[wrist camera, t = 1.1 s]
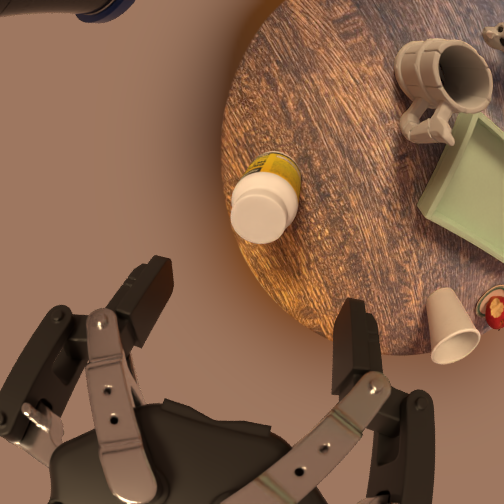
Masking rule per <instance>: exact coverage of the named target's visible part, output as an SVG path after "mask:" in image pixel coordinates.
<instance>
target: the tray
mask: <svg viewBox="0 0 504 504" xmlns="http://www.w3.org/2000/svg"><path fill="white" fill-rule="evenodd" d="M451 135H452V136H453V138H454V141H455V144H454V146H449V145H448V144H447V143H446V146H445V148H444V150H443V153H442V155H441V157H440V159H439V161H438V163H437V166H436V168H435V170H434V172H433V174H432V176H431V178H430V180H429V182H428V184H427V186H426V188H425V190H424V192H423V194H422V196H421V197H420V199H419V201H418V203H417V207H418V208H419V210H420V211H421V213H422V214H423V216H424V217H425V218H426V219H428V220H430V221H432V222H434V223H436V224H438V225H440V226H442V227H444V228H446V229H447V230H449V231H451V232H453V233H455V234H456V235H458V236H460V237H462V238H463V239H465V240H467V241H469V242H470V243H472V244H474V245H475V246H477V247H479V248H480V249H482V250H484V251H485V252H487V253H488V254H490V255H492V256H493V257H495V258H496V259H498V260H499V261H501V262H502V263H504V132H503V131H502V130H501V129H500V128H498V127H497V126H496V125H495V124H494V123H493V122H492V121H491V120H489V119H488V118H487V117H486V116H485V115H484V114H482V113H481V112H479V113H475V114H472V113H468V114H466V113H459V114H458V116H457V119H456V122H455V124H454V127H453V129H452V133H451Z"/></svg>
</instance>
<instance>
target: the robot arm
mask: <svg viewBox="0 0 504 504" xmlns="http://www.w3.org/2000/svg"><path fill="white" fill-rule="evenodd" d="M115 1H116V0H0V17H5V16H12V15H21V14H36V13H74V14H85V15H95V14H98V13H101V12H103V11H104V10H106V9H107V8H109V7H110V6H111V5H112V4H113V3H114V2H115ZM173 287H174V281H173V271H172V261H171V259H169V258H165V257H161V256H157V255H155V256H153V257H152V259H151V260H150V261H149V263H148V264H141V265H140V266H138V267H137V268H135V269H134V270H133V271H132V273H131V274H130V275H129V276H128V279H126V280H125V282H124V283H123V285H122V286H121V287H120V289H119V290H118V291H117V293H116V294H115V295H114V297H113V298H112V300H111V301H110V302H109V304H108V305H107V306H106V307H105V308H100V309H97V310H95V311H93V312H92V313H91V314H90V315H75V314H72V312H71V310H70V308H69V307H67V306H65V305H58V306H55V307H53V308H52V309H51V310H50V311H49V312H48V313H47V314H46V316H45V317H44V319H43V320H42V322H41V323H40V325H39V326H38V328H37V329H36V331H35V332H34V334H33V335H32V337H31V338H30V340H29V342H28V343H27V345H26V346H25V348H24V350H23V351H22V353H21V354H20V356H19V358H18V360H17V362H16V363H15V365H14V367H13V368H12V370H11V372H10V374H9V375H8V377H7V379H6V381H5V383H4V385H3V387H2V389H1V391H0V436H1V437H3V438H5V439H6V440H7V441H8V442H10V443H12V444H14V445H15V446H17V447H19V448H21V449H23V450H25V451H26V452H27V453H28V454H30V455H31V456H32V457H34V458H35V459H37V460H38V461H39V462H41V463H42V464H44V465H45V466H47V467H48V468H49V471H50V478H51V496H50V500H49V502H48V504H328V503H327V502H326V500H325V499H324V497H323V496H322V494H321V492H320V491H319V489H318V488H317V485H318V484H319V483H320V482H321V481H322V480H323V479H324V478H325V477H326V476H327V475H328V474H329V473H330V472H331V471H332V470H333V469H334V468H335V467H336V466H337V465H338V464H339V463H340V461H341V460H342V459H343V458H344V457H345V456H346V455H347V454H348V453H349V452H350V451H351V449H352V448H353V447H354V446H355V445H356V444H357V442H358V441H359V440H360V438H361V437H362V435H363V434H362V432H363V431H364V429H365V428H367V429H370V430H373V431H374V438H373V449H372V459H371V467H370V476H369V482H368V489H367V494H366V498H365V499H363V500H361V501H359V502H358V503H357V504H432V496H433V485H434V470H435V425H434V424H435V423H434V406H433V401H432V398H431V396H430V395H429V394H428V393H426V392H425V391H423V390H414V391H413V392H411V393H410V394H408V393H405V392H403V391H400V390H398V389H395V388H393V387H392V386H391V384H390V381H389V380H388V378H387V377H386V376H385V375H384V374H383V370H382V359H381V350H380V343H379V335H378V326H377V322H376V320H375V319H374V317H373V315H372V314H370V313H366V311H365V303H364V301H363V300H358V299H353V298H347V299H346V300H345V302H344V304H343V306H342V308H341V310H340V312H339V314H338V316H337V318H336V321H335V324H334V329H333V370H332V395H339V402H338V403H337V404H336V405H335V406H334V407H333V409H332V410H331V411H330V412H329V413H328V414H327V415H326V416H325V417H324V418H323V419H322V420H321V421H320V422H319V423H318V424H317V425H316V426H315V427H313V428H312V429H311V430H310V431H309V432H308V433H307V434H306V435H305V436H304V437H303V438H301V439H300V440H299V441H298V442H297V443H296V444H295V445H294V446H293V447H291V446H290V445H289V444H288V443H287V442H286V441H285V440H284V439H283V438H281V437H280V436H278V435H276V434H274V433H272V432H270V430H271V426H268V425H262V424H257V423H252V422H247V421H216V420H213V419H211V418H209V417H207V416H205V415H204V414H202V413H200V412H198V411H197V410H195V409H193V408H191V407H190V406H186V405H184V404H180V403H177V402H174V401H171V400H168V399H164V402H163V404H160V403H155V404H154V403H153V404H146V403H145V400H144V398H143V395H142V392H141V390H140V387H139V383H138V379H137V375H136V371H135V368H134V363H133V359H132V354H131V350H132V348H133V346H137V347H140V348H142V347H143V345H144V343H145V341H146V340H147V338H148V336H149V334H150V332H151V330H152V328H153V327H154V325H155V323H156V321H157V319H158V318H159V316H160V314H161V312H162V310H163V309H164V307H165V305H166V303H167V301H168V300H169V298H170V296H171V294H172V292H173ZM59 352H60V353H59ZM58 354H59V355H58ZM55 359H56V360H55ZM88 360H89V363H87V362H88ZM54 361H55V362H54ZM84 367H85V371H86V380H87V387H88V393H89V400H90V405H91V411H92V416H93V421H94V426H95V429H93V430H91V431H88V432H86V433H84V434H82V435H80V436H78V437H76V438H73V439H71V440H69V441H66V442H64V443H62V436H63V435H64V430H63V423H62V421H61V419H60V418H61V416H62V413H63V411H64V409H65V407H66V405H67V402H68V400H69V398H70V396H71V394H72V392H73V390H74V388H75V385H76V383H77V381H78V379H79V377H80V375H81V373H82V371H83V369H84Z"/></svg>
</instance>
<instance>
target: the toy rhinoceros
mask: <svg viewBox="0 0 504 504" xmlns="http://www.w3.org/2000/svg"><path fill="white" fill-rule="evenodd" d="M482 35H483V39H484V40H485V42H486V43H487V44H488V45H489V46H490V47H491V48H494V49H499V50H501V51H503V52H504V23H499V24H498V25H497V26H495V27H485V28H484V29H483V32H482Z"/></svg>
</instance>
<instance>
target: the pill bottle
mask: <svg viewBox="0 0 504 504" xmlns="http://www.w3.org/2000/svg"><path fill="white" fill-rule="evenodd" d="M300 187H301V171H300V169H299V166H298V165H297V163H296V162H295V161H294V160H293V159H292V158H291V157H290V156H288V155H286V154H284V153H281V152H276V151H271V152H266V153H263V154H261V155H259V156H258V157H257V158H256V159H255V160H254V161H253V162H252V163H251V164H250V166H249V167H248V169H247V170H246V172H245V173H244V175H243V176H242V177H241V179H240V180H239V182H238V183H237V185H236V187H235V189H234V191H233V194H232V211H231V222H232V225H233V228H234V229H235V231H236V232H237V233H238V234H239V235H240V236H241V237H242V238H243V239H245V240H247V241H249V242H252V243H256V244H266V243H270V242H273V241H275V240H277V239H278V238H279V237H280V236H281V235H282V234H283V232H284V230H285V228H287V227H288V226H289V225H290V224H291V223H292V221H293V220H294V218H295V216H296V213H297V210H298V203H299V195H300Z"/></svg>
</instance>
